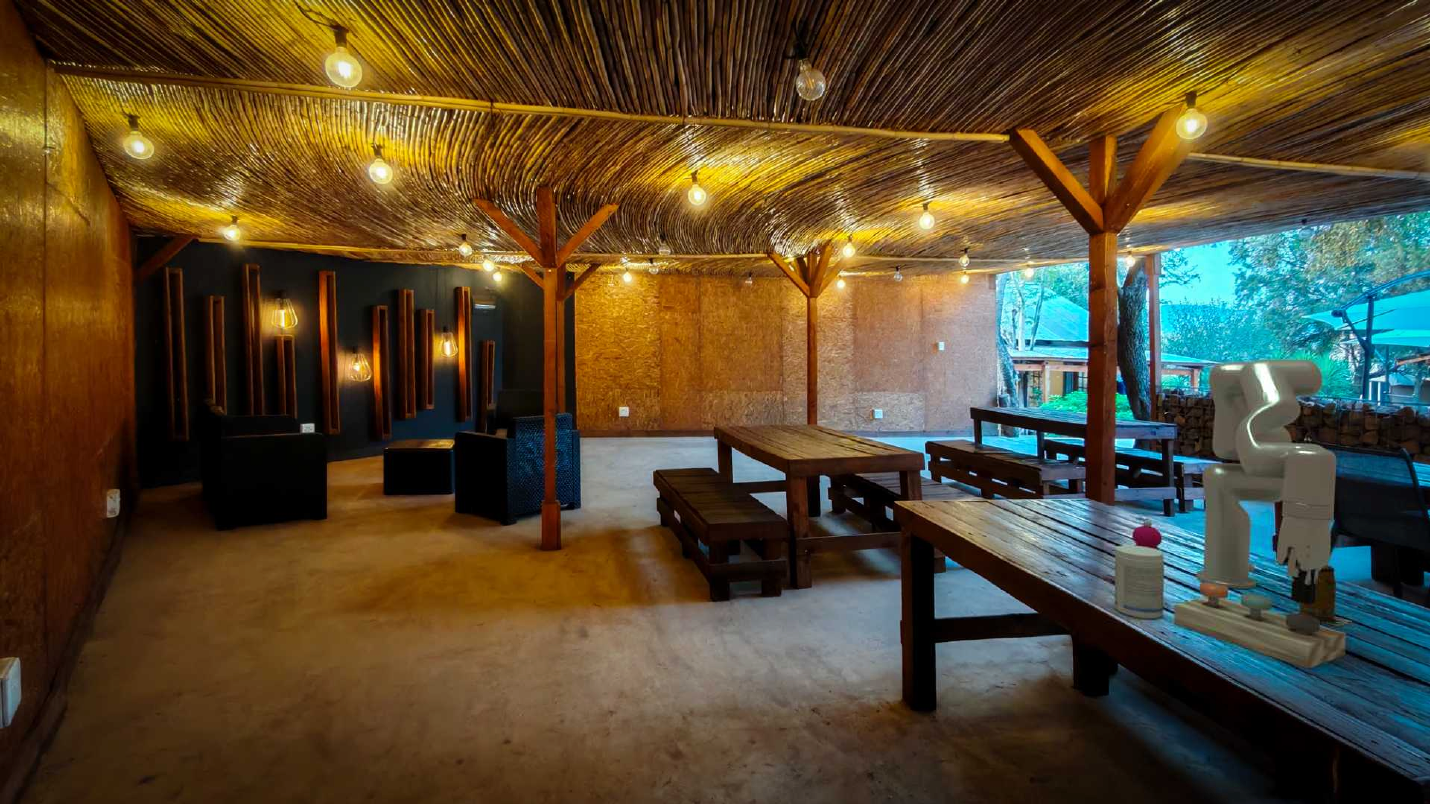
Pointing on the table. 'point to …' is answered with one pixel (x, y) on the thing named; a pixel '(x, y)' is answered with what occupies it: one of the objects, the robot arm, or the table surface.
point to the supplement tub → (1139, 581)
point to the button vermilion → (1213, 593)
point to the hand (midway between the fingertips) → (1302, 601)
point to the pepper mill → (1147, 536)
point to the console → (1260, 632)
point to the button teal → (1256, 604)
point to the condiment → (1324, 599)
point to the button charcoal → (1302, 623)
